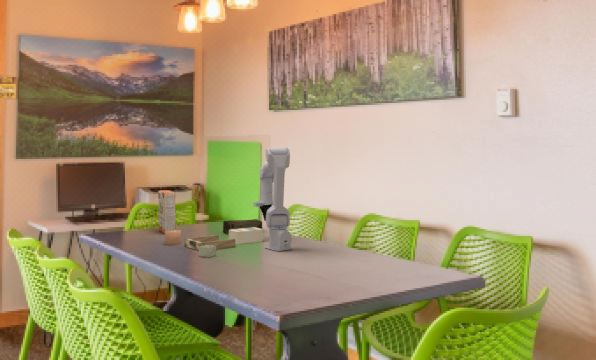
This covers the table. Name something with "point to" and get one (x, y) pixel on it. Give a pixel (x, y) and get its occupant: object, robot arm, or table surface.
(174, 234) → the block
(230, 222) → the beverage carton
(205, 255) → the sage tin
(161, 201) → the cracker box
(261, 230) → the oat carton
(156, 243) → the table surface
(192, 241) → the display bay
